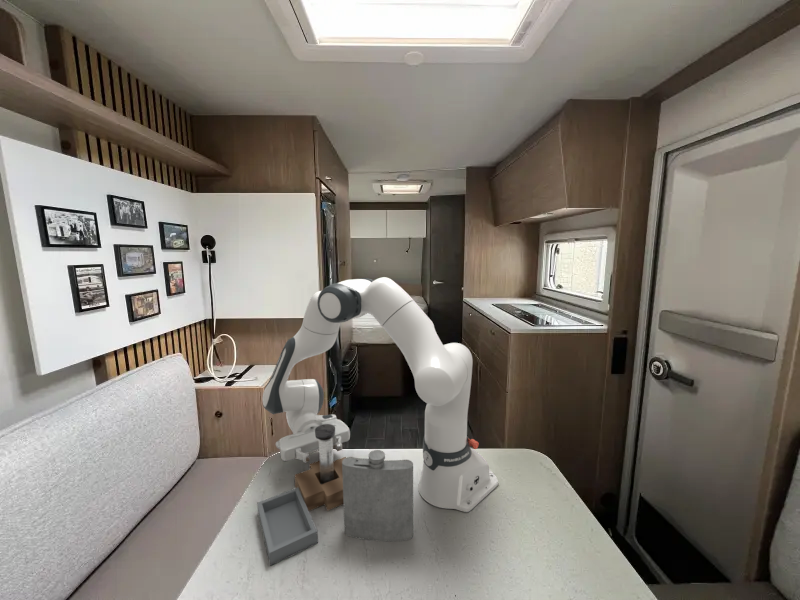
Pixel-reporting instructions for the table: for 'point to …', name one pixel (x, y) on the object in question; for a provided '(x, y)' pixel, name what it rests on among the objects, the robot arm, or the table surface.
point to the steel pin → (325, 451)
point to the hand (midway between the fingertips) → (323, 453)
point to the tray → (286, 525)
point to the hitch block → (321, 487)
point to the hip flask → (378, 498)
